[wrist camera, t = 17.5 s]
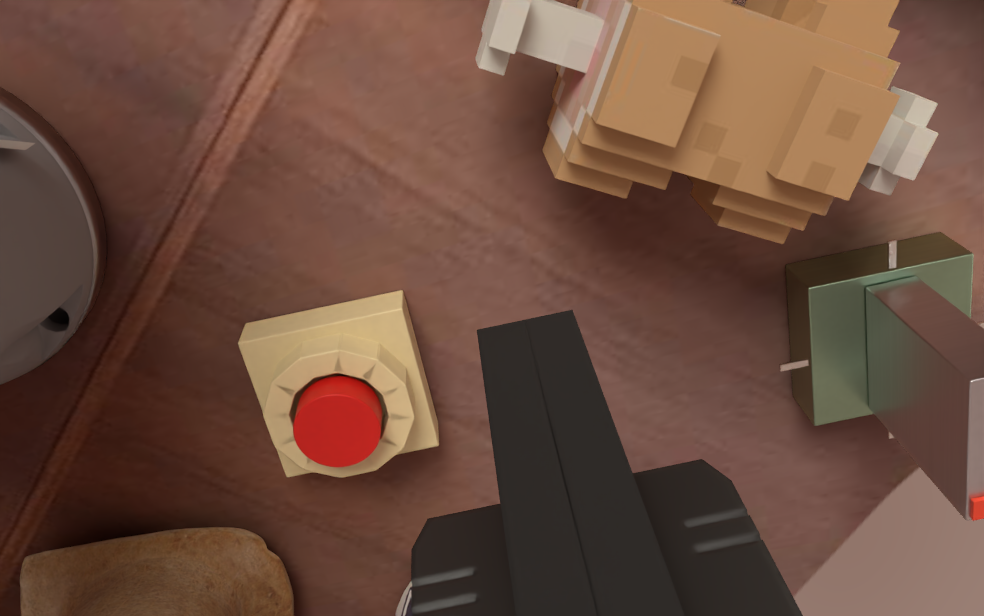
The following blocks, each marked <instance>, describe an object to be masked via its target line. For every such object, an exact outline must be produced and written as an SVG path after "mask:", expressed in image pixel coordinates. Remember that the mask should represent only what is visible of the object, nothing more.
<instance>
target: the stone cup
mask: <svg viewBox="0 0 984 616" xmlns="http://www.w3.org/2000/svg"><path fill="white" fill-rule="evenodd" d="M20 590H21V616H294V596H293V591H292V587H291V584H290V580H289V577H288V574H287V572H286V569H285V567H284V564H283V562H282V561H281V560H280V558H279V557H278V556H277V555H276V554H274V553H273V552H271V551H270V550H268V549H267V547H266V544H265V542H264V540H263V539H262V538H261V537H260V536H258V535H257V534H255V533H253V532H250V531H248V530H245V529H240V528H233V527H200V528H184V529H173V530H166V531H160V532H154V533H148V534H142V535H135V536H128V537H122V538H115V539H110V540H105V541H99V542H94V543H89V544H84V545H78V546H72V547H67V548H61V549H54V550H48V551H44V552H40V553H36V554H33V555H30V556H27V557H25V559H24V561H23V564H22V568H21V574H20Z"/></svg>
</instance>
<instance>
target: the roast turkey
mask: <svg viewBox="0 0 984 616" xmlns="http://www.w3.org/2000/svg"><path fill="white" fill-rule="evenodd" d="M732 1H733V0H579V2H578V5H577V7H576V8H575V7H572V6H569V5H566V4H563V3H560V2H557V1H554V0H490V2H489V6H488V9H487V12H486V16H485V19H484V22H483V26H482V29H481V31H482V33H483V35H482V38H481V42H480V45H479V48H478V52H477V55H476V58H475V59H476V62H477V65H478V68H481V69H484V70H487V71H490V72H493V73H497V74H500V75H503V76H504V73H505V70H506V67H507V64H508V61H509V57H510V54H511V53H512V54H515V51H517V52H520V53H524V54H527V55H530V56H533V57H536V58H539V59H543V60H546V61H549V62H552V63H555V64H557V66H556V69H555V70H556V71H557V72H558V77H557V80H556V83H555V86H554V89H553V92H552V95H551V96H552V98H553V100H554V103H553V106H552V109H551V112H550V115H549V118H548V121H547V124H548V126H549V128H550V130H549V133H548V135H547V138H546V141H545V144H544V147H543V150H542V151H543V153H544V155H545V158H546V160H547V162H548V164H549V166H550V168H551V170H552V172H553V174H554V177H555V178H556V179H560V180H563V181H566V182H570V183H573V184H577V185H580V186H584V187H587V188H591V189H594V190H597V191H601V192H604V193H608V194H611V195H615V196H618V197H622V198H625V199H627V196H628V193H629V191H630V188H631V186H632V183H633V181H636V182H639V183H643V184H646V185H650V186H653V187H656V188H660V189H663V190H666V187H667V185H668V182H669V180H670V178H671V175H672V173H673V171H676V172H679V173H682V174H685V175H686V176H687V177H688V178H689V179H690V180H691V182H692V183H693V184H694V186H693V189H692V191H691V194H690V195H691V196H692V197H693V198H694V199H695V200H696V202H697V203H698V204H699V205H700V206H701V207H702V208H703V210H704V211H705V212H706V213H707V214H708V215H709V216H710V217H711V219H712V220H713V221H714V222H715V223H716V224H717V225H718V226H722V227H725V228H728V229H732V230H735V231H739V232H742V233H746V234H749V235H753V236H756V237H759V238H763V239H766V240H770V241H773V242H777V243H780V244H784V242H785V240H786V238H787V235H788V233H789V231H790V229H791V227H792V228H795V229H799V230H802V231H804V229H805V227H806V224H807V222H808V220H809V218H810V216H811V214H812V213H816V214H819V215H822V216H825V215H826V213H827V211H828V209H829V207H830V205H831V203H832V201H833V199H834V197H838V198H841V199H845V200H849V198H850V196H851V194H852V192H853V190H854V188H855V186H856V184H857V182H860V183H861V184H863V185H864V186H865V187H867V188H868V189H870V190H874V191H877V192H880V193H883V194H887V195H891V193H892V191H893V189H894V188H895V186H896V184H897V182H898V180H899V178H900V176H901V177H904V178H907V179H911V180H915V178H916V176H917V174H918V172H919V170H920V168H921V166H922V164H923V162H924V161H925V159H926V157H927V155H928V153H929V151H930V149H931V147H932V145H933V143H934V141H935V140H936V138H937V136H938V134H939V133H937V132H934V131H932V130H930V129H928V128H926V126H927V124H928V122H929V120H930V118H931V116H932V114H933V112H934V110H935V108H936V106H937V104H938V103H935V102H933V101H931V100H928V99H926V98H924V97H921V96H919V95H916V94H914V93H911V92H908V91H905V90H902V89H900V88H897V87H894V86H892V88H891V90H890V91H888V90H887V89H888V87H889V85H890V83H891V81H892V79H893V77H894V75H895V73H896V71H897V69H898V67H899V65H900V63H899V62H897V61H894V60H891V59H889V58H887V57H888V55H889V53H890V51H891V49H892V47H893V44H894V42H895V40H896V38H897V36H898V34H899V32H900V31H899V30H896V29H893V28H891V27H888V24H889V22H890V19H891V17H892V15H893V13H894V11H895V9H896V7H897V5H898V3H899V1H900V0H747V1H746V4H745V6H744V7H743V6H740V5H737V4H735V3H732Z"/></svg>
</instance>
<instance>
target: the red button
mask: <svg viewBox="0 0 984 616" xmlns="http://www.w3.org/2000/svg"><path fill="white" fill-rule="evenodd" d="M381 422H382V408H381V403H380V401H379V399H378V397H377V395H376V394H375V392H374V391H373V390H372V389H371V388H370V387H369V386H367V385H366V384H365V383H363V382H361V381H359V380H357V379H354V378H351V377H346V376H332V377H327V378H323V379H321V380H318V381H317V382H315V383H313V384H312V385H310V386H309V387H308V388H307V389H306V390H305V391H304V393H303V394H302V396H301V397H300V400H299V402H298V406H297V411H296V415H295V420H294V424H293V435H294V439H295V441H296V444H297V446H298V447H299V449H300V450H301V451H302V453H303V454H304V455H306V456H307V457H308V458H309V459H311V460H312V461H314V462H316V463H319V464H321V465H324V466H329V467H347V466H351V465H354V464H357V463H359V462H361V461H363V460H364V459H366V458H367V457H368V456H369V455H371V454H372V452H373V451H374V450H375V449H376V447H377V445H378V443H379V440H380V436H381Z"/></svg>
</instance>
